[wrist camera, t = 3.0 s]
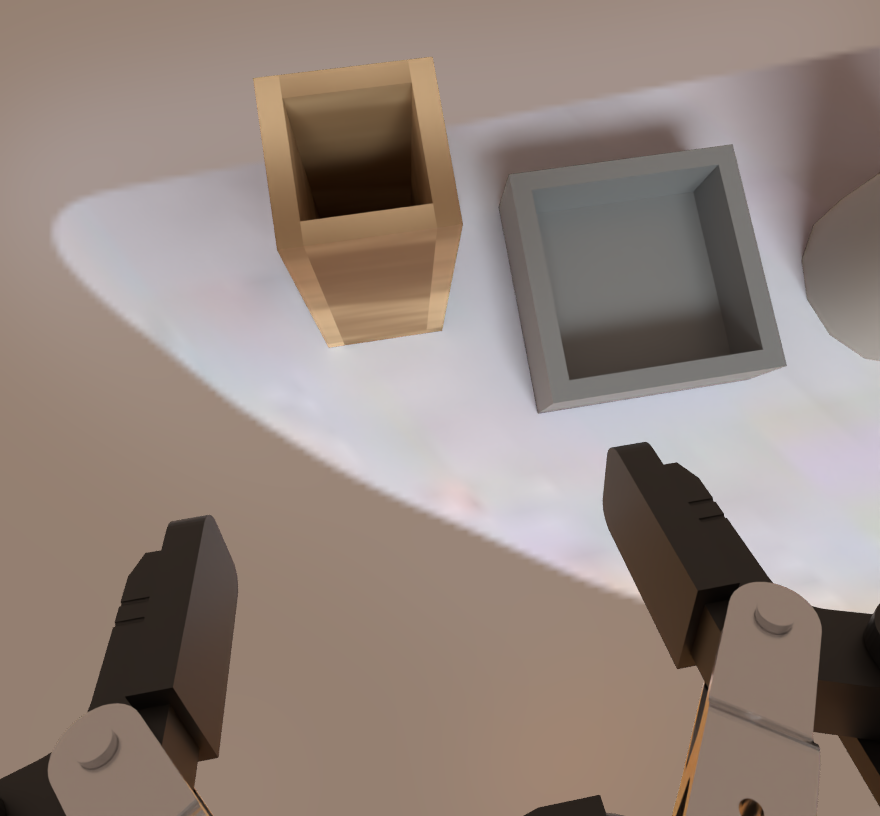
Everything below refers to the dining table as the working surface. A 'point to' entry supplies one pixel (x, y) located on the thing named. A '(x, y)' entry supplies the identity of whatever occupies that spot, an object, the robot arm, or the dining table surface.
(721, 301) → the tray
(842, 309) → the cup
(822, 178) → the dining table surface
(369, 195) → the oak crate
